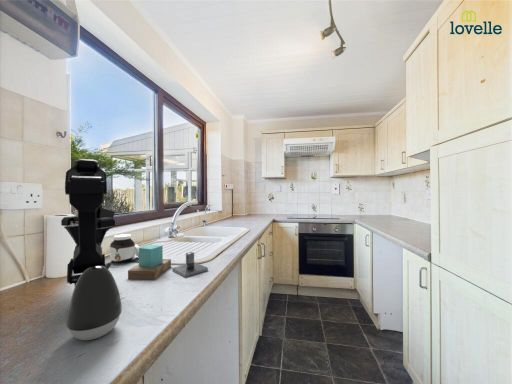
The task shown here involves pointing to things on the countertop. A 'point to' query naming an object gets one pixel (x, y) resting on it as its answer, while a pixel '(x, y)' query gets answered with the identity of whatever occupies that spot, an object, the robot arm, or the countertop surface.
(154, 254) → the turquoise square block
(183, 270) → the post stand
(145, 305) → the countertop surface
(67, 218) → the robot arm
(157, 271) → the board
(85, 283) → the dark grey egg shape
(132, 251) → the spread jar
